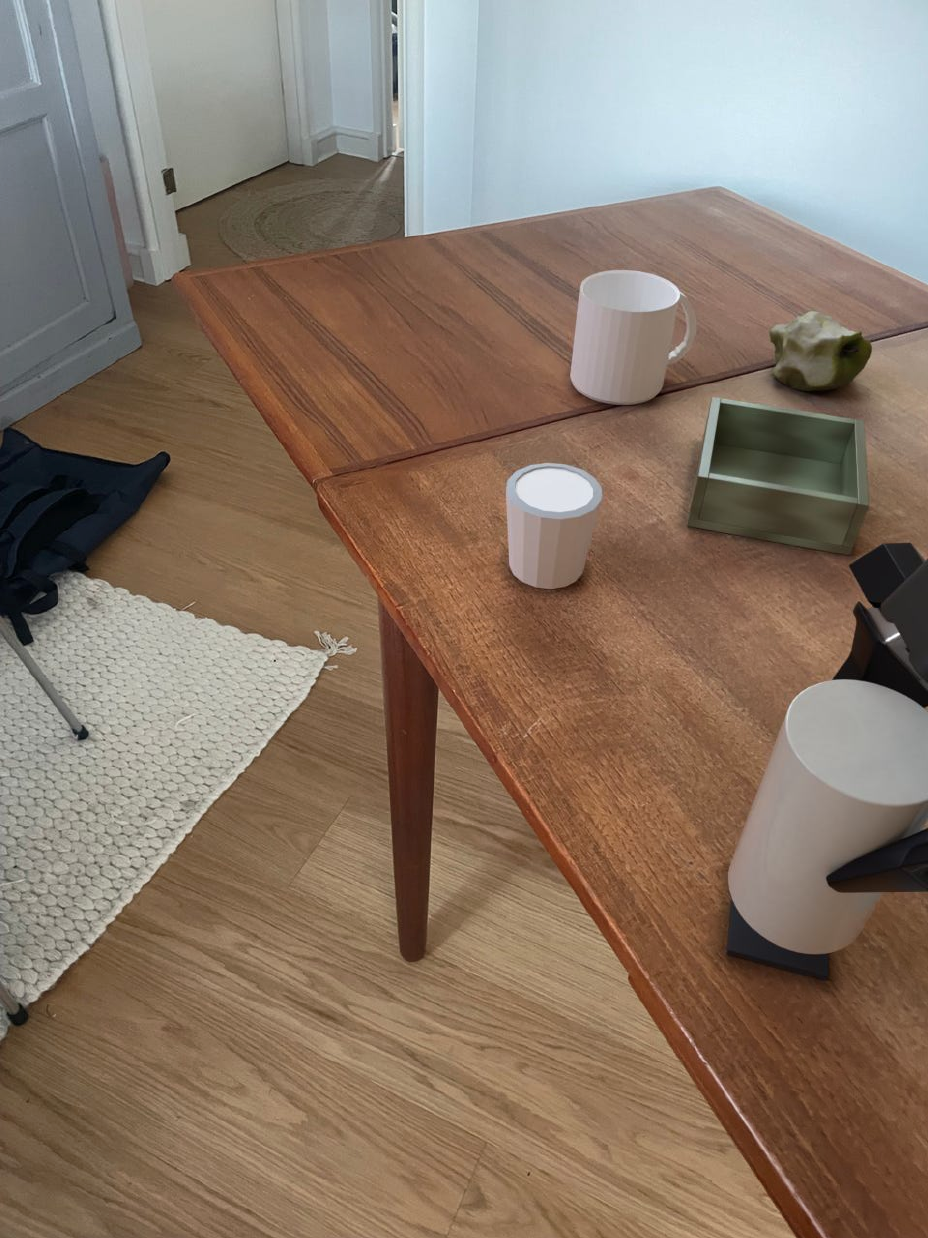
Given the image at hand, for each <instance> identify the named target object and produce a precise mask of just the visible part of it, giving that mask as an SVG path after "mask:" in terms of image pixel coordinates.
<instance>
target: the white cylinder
mask: <svg viewBox="0 0 928 1238" xmlns="http://www.w3.org/2000/svg"><path fill="white" fill-rule="evenodd" d="M744 822H745V823H744V825H743V828H742V830H741V833H740V835H739V838H738V841H737V844H736V847H735V849H734V851H733V854H732V857H731V861H730V863H729V867H728V873H727V884H728V890H729V894H730V898H731V897H732V900H733V902H734V904H735V906H736V908H737V910H738V911H739V913H740V914H741V916H742V917H743V918H744V920H745V921H746V922H747V923H748V924H749V925H750V926H751V927H752V928H753V929H754V930H755V931H756V932H757V933H759V934H760V935H761V936H763V937H764V938H766V939H767V940H769V941H770V942H772V943H774V944H776V945H778V946H780V947H783V948H785V949H788V950H791V951H794V952H799V953H804V954H826V953H829V954H830V953H835V952H837V951H840V950H843V949H844V948H846V947H847V946H850V945H851V944H852V943H853V942H854V941H856V940H857V938H858V937H859V936H860V935H861V933H862V931H863V930H864V928H865V927H866V925H867V923H868V921H869V919H870V918H871V916H872V915H873V913H874V912H875V909H877V906H878V904H879V903H880V901H881V900H882V898H883V896H884V894H886V892H867V893H840V892H837V891H835V890H834V889H832V888H831V887H829V886H828V884H827V881H826V876H827V875H829V874H830V873H832V872H834V871H835V870H837V869H839V868H840V867H842V866H844V865H845V864H847V863H849V862H850V861H852V860H854V859H857V858H859V857H861V856H864V855H866V854H868V853H871V852H873V851H875V850H878V849H880V848H882V847H884V846H887V845H889V844H891V843H894V842H896V841H898V840H901V839H903V838H905V837H908V836H910V835H912V834H915V833H917V832H919V831H922V830H924V829H925V826H926V825H927V823H928V710H927V709H926V708H923V707H922V706H920V705H919V704H918V703H916V702H915V701H913V700H912V699H910V698H908V697H907V696H905V695H903V694H901V693H899V692H897V691H895V690H892V689H890V688H887V687H884V686H881V685H878V684H875V683H870V682H866V681H859V680H847V679H841V680H832V679H831V680H825V681H821V682H817V683H814V684H813V685H810V686H808V687H807V688H805V689H803V690H802V691H800V692H799V693H798V694H797V695H795V697H794V698H793V699H792V700H791V702H790V704H789V705H788V707H787V710H786V712H785V715H784V718H783V721H782V723H781V725H780V728H779V731H778V734H777V737H776V739H775V742H774V744H773V747H772V750H771V753H770V755H769V757H768V760H767V763H766V766H765V769H764V771H763V774H762V777H761V779H760V782H759V785H758V787H757V790H756V793H755V795H754V798H753V801H752V804H751V806H750V809H749V812H748V814H747V817H746V820H745V821H744Z"/></svg>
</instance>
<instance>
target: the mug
mask: <svg viewBox="0 0 928 1238" xmlns="http://www.w3.org/2000/svg"><path fill="white" fill-rule="evenodd" d="M577 302H578V303H577V312H576V319H575V320H576V322H575V330H574V339H573V347H572V357H571V367H570V381H571V383H572V385H573V387H574V388H575V390H577V391H578V392H579V393H580V394H581V395H583V396H584V397H586V398H588V399H591V400H593V401H596V402H599V403H603V404H608V405H615V406H631V405H638V404H642V403H645V402H649V401H650V400H652V399H654V398H655V397H656V396H657V395H658V394H659V393H660V392H661V391H662V389H663V388H664V383H665V377H666V372H667V367H668V365H674V364H675V363H676V362H678V361H680V360H681V359H683V358H684V356H686V355H687V353H688V352H690V351H691V349H692V348H693V346H694V341H695V339H696V335H697V316H696V313H695V310H694V307H693V305H692V304H691V302H690V300H689V298H688V296H687V295H686V294H684V293H683V292H681V291H680V290H679V288H678V287H677V286H676V285H675V284H674V283H672V282H671V281H670V280H668V279H666V278H664V277H661V276H659V275H657V274H653V273H649V272H646V271H639V270H632V269H612V270H603V271H599V272H595V273H593V274H590V275H588V276H587V277H584V279H583V280H582V281H581V283H580V286H579V293H578V301H577ZM679 303H680V305H681V307H682V309H683V311H684V315H685V322H686V323H685V324H686V332H685V333H684V338H683V341H682V342H680V344H679V345H678V346H675V349H673V350H671V346H672V342H673V341H672V340H673V335H674V330H675V324H676V319H677V314H678V308H679ZM670 350H671V351H670Z"/></svg>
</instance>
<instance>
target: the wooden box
mask: <svg viewBox="0 0 928 1238" xmlns="http://www.w3.org/2000/svg"><path fill="white" fill-rule="evenodd" d="M865 427H866V426H865V420H863V419H856V418H855V419H854V418H849V417H844V416H837V415H831V414H825V413H819V412H818V413H817V412H811V411H805V410H798V409H793V408H787V407H779V406H772V405H768V404H767V405H766V404H760V403H754V402H748V401H740V400H734V399H728V398H722V397H716V396H715V397H714V396H712V397H711V399H710V403H709V408H708V413H707V418H706V420H705V425H704V430H703V433H702V439H701V442H700V443H701V444H700V449H699V454H698V460H697V465H696V471H695V477H694V482H693V487H692V493H691V498H690V504H689V509H688V515H687V521H686V526H687V527H691V528H695V529H703V530H707V531H712V532H719V533H723V534H724V533H725V534H727V535H728V534H729V535H734V536H740V537H745V538H751V539H755V540H756V539H757V540H762V541H766V542H767V541H768V542H773V543H778V544H783V545H789V546H794V547H801V548H806V549H811V550H817V551H822V552H827V553H834V554H838V555H843V556H851V554H852V552H853V548H854V546H855V544H856V541H857V539H858V536H859V533H860V531H861V528H862V526H863V523H864V521H865V519H866V516H867V513H868V511H869V508H870V496H869V477H868V461H867V459H868V458H867V443H866V428H865Z"/></svg>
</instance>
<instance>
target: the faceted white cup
mask: <svg viewBox="0 0 928 1238" xmlns="http://www.w3.org/2000/svg"><path fill="white" fill-rule="evenodd" d="M602 500H603V488H602V486H601V485H600V483H599V482H598V480H597V478H595V476H593V475H592V474H589V473H588V472H587V471H585V470H583V469H582V468H578V467H575V466H572V465H569V464H565V463H564V464H563V463H554V462H544V463H542V462H541V463H535V464H529V465H527V466H525V467H522V468H519V469H518V470H516V471H514V473H513V474H512V475H510V477H509V478H508V479H507V482H506V488H505V503H506V504H505V505H506V523H507V524H506V525H507V546H508V565H509V569H510V571H511V572H512V574H513V576H514V577H515V578H517V579H518V580H519V581H521V582H522V583H523V584H526V585H528V586H531V587H533V588H536V589H545V590H555V589H560V588H566V587H569V586H570V585H572V584H574V583H576V582H577V581H578V580H579V579H580V577H581V576H582V574H583V573H584V570H585V565H586V562H587V558H588V553H589V550H590V547H591V543H592V539H593V534H594V531H595V527H596V523H597V520H598V516H599V511H600V507H601V504H602Z"/></svg>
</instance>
